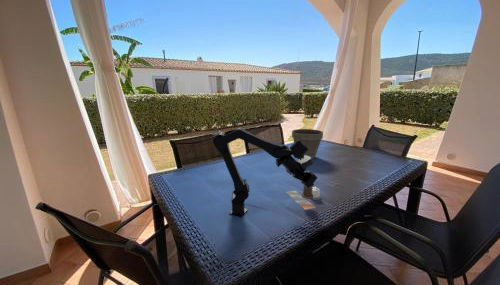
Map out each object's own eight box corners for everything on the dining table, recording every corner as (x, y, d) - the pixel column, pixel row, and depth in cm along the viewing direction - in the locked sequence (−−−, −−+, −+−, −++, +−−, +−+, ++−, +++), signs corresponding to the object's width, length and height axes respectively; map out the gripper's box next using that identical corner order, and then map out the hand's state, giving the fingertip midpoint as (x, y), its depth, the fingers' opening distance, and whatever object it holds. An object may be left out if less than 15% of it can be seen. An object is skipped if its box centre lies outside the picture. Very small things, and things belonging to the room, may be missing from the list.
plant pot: (298, 150, 202) (299, 127, 196) (325, 155, 188) (327, 130, 182) (285, 157, 182) (286, 132, 177) (315, 163, 168) (317, 135, 163)
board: (318, 208, 107) (319, 207, 106) (302, 212, 104) (302, 210, 104) (297, 190, 125) (297, 189, 125) (283, 193, 122) (283, 192, 122)
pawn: (312, 200, 103) (313, 174, 100) (300, 197, 106) (301, 172, 103) (314, 194, 108) (316, 170, 105) (302, 192, 111) (304, 168, 108)
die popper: (323, 199, 115) (324, 190, 114) (311, 202, 113) (312, 192, 111) (315, 193, 121) (316, 184, 120) (304, 195, 119) (305, 186, 118)
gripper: (315, 157, 92) (334, 178, 98) (292, 146, 109) (310, 164, 115) (297, 177, 91) (318, 197, 97) (277, 163, 108) (296, 180, 114)
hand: (310, 183), depth 106 cm, fingers closed on pawn, 4 cm apart
